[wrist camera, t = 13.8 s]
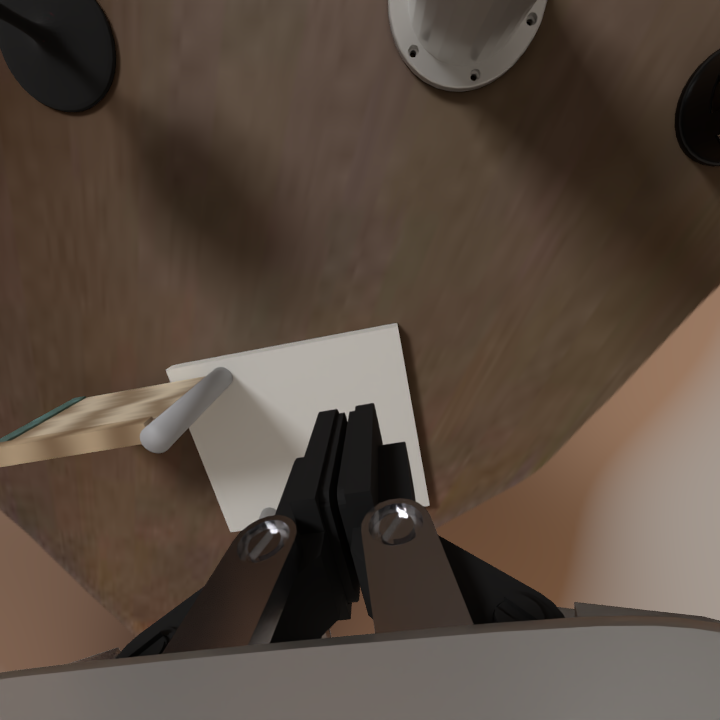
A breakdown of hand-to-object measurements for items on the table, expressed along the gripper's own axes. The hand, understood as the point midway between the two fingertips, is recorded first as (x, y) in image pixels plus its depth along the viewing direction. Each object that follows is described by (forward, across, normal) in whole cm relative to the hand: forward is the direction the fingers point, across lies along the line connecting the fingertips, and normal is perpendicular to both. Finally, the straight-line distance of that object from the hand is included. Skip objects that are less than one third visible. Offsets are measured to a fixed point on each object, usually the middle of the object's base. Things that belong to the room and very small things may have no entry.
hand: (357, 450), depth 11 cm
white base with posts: (+29, +11, +15) cm, 35 cm away
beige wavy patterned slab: (+27, +27, +5) cm, 39 cm away
